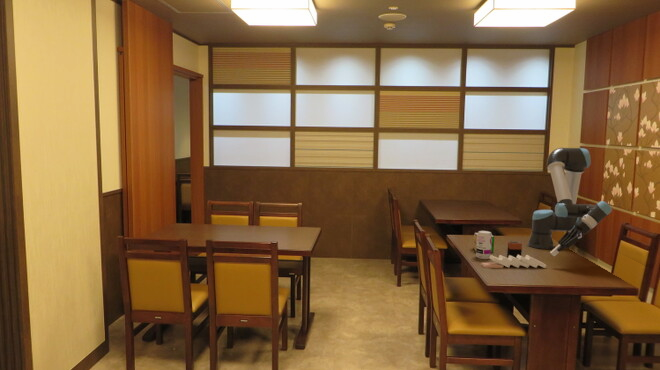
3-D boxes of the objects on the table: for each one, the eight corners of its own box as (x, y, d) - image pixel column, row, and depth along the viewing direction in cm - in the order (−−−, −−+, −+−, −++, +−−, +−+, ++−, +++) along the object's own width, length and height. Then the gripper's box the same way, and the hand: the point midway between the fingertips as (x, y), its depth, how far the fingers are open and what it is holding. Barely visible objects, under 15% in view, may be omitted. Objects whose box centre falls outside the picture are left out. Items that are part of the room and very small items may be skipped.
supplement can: (490, 256, 280) (492, 231, 278) (490, 260, 272) (492, 234, 271) (476, 255, 283) (477, 230, 281) (475, 258, 275) (477, 232, 273)
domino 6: (542, 262, 263) (526, 254, 262) (546, 265, 258) (530, 256, 257) (540, 265, 263) (524, 257, 262) (544, 268, 258) (528, 260, 257)
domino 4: (525, 262, 263) (509, 254, 262) (529, 264, 258) (513, 257, 257) (523, 265, 263) (507, 258, 262) (527, 268, 258) (511, 260, 257)
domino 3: (516, 262, 263) (499, 254, 262) (519, 264, 258) (503, 257, 257) (514, 265, 263) (498, 258, 262) (518, 267, 258) (501, 260, 257)
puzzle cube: (489, 249, 299) (490, 233, 298) (493, 253, 289) (494, 236, 288) (473, 248, 300) (474, 232, 299) (476, 252, 290) (477, 236, 289)
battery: (506, 256, 281) (507, 240, 279) (518, 257, 280) (519, 240, 279) (509, 258, 276) (510, 241, 275) (521, 259, 276) (522, 242, 275)
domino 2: (506, 261, 262) (490, 254, 261) (510, 264, 257) (494, 257, 256) (504, 265, 262) (488, 257, 261) (508, 267, 257) (492, 260, 256)
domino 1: (499, 262, 262) (481, 262, 262) (503, 265, 257) (484, 265, 257) (499, 266, 262) (481, 266, 262) (503, 268, 257) (484, 268, 257)
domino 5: (533, 262, 263) (517, 254, 262) (538, 264, 258) (521, 256, 257) (532, 265, 263) (516, 257, 262) (536, 268, 258) (520, 259, 257)
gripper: (574, 217, 265) (542, 246, 267) (587, 222, 252) (553, 252, 254) (583, 227, 266) (551, 256, 268) (596, 232, 253) (562, 262, 255)
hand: (552, 254), depth 261 cm, fingers closed
